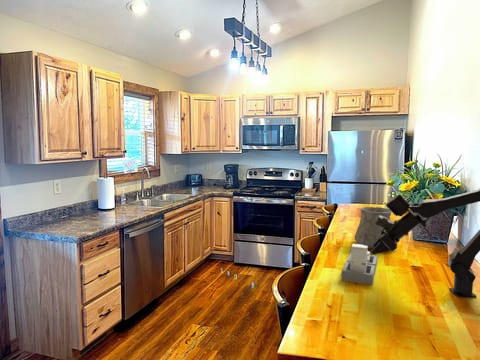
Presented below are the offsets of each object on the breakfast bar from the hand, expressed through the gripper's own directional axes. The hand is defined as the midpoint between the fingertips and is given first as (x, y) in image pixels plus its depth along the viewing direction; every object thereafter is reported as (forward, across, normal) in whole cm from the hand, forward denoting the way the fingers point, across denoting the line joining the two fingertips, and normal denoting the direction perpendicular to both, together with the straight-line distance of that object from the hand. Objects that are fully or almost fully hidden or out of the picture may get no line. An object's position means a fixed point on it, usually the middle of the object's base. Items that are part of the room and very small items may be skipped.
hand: (372, 250), depth 141 cm
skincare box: (+12, 0, +4) cm, 12 cm away
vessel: (+11, -47, +6) cm, 49 cm away
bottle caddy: (+12, -7, +5) cm, 15 cm away
